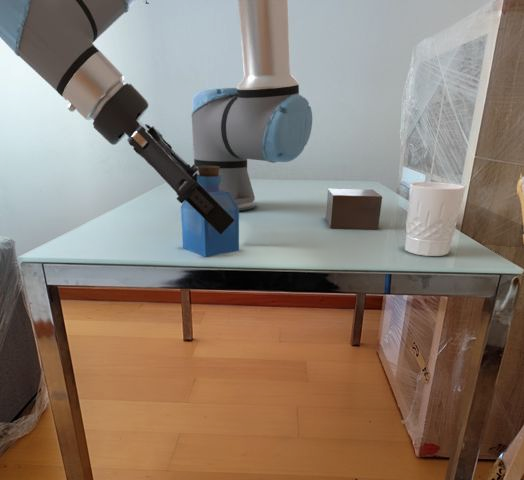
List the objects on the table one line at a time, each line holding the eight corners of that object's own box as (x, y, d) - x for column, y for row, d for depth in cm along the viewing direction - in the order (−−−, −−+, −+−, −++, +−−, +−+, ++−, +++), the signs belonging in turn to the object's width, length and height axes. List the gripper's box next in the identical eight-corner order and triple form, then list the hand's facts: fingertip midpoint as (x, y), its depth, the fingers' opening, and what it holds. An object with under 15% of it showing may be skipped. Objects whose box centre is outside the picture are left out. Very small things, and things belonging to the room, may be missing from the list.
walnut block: (325, 219, 98) (327, 188, 95) (369, 220, 98) (373, 189, 95) (330, 228, 90) (333, 195, 87) (378, 229, 90) (382, 196, 87)
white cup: (462, 256, 73) (476, 188, 69) (415, 258, 72) (426, 189, 67) (435, 244, 80) (447, 181, 75) (392, 245, 78) (401, 181, 74)
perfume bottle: (183, 248, 74) (178, 165, 69) (215, 242, 78) (214, 163, 72) (205, 256, 70) (202, 169, 64) (238, 250, 73) (238, 167, 68)
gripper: (103, 122, 75) (202, 219, 84) (71, 126, 53) (210, 257, 62) (135, 85, 73) (232, 187, 82) (115, 72, 51) (252, 214, 60)
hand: (223, 217), depth 72 cm, fingers open, 13 cm apart
